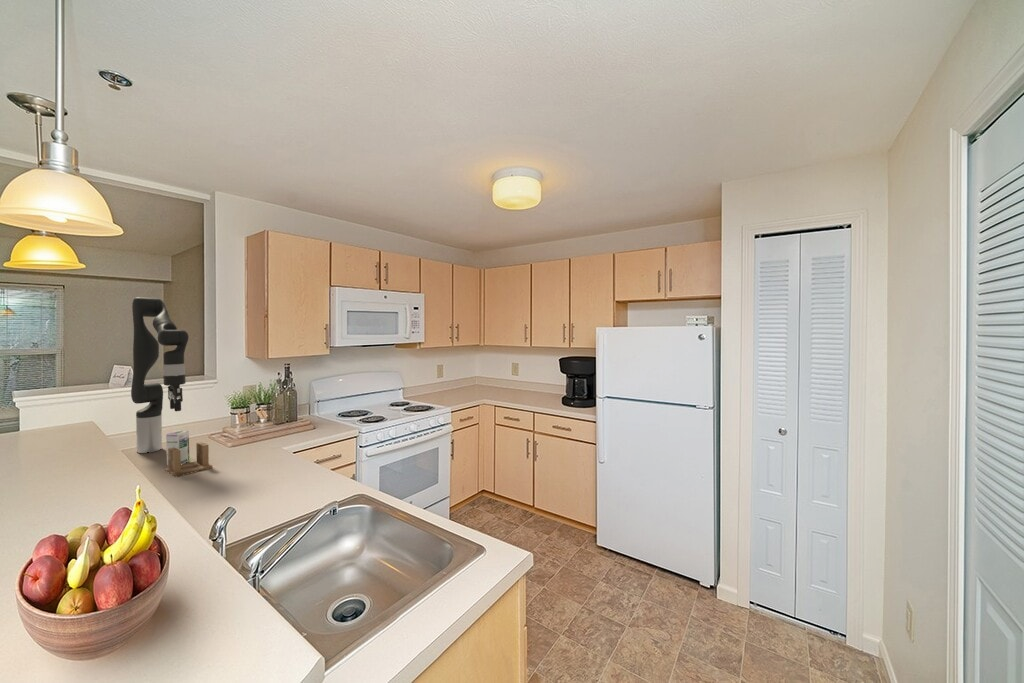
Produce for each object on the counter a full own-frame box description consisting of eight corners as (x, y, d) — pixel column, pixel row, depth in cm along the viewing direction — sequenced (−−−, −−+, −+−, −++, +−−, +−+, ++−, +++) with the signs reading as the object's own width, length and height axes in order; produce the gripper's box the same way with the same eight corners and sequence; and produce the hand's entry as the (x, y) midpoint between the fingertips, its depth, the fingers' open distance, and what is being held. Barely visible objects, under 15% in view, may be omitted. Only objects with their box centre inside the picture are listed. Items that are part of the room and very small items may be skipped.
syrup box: (179, 466, 176) (178, 433, 175) (166, 465, 176) (165, 433, 175) (189, 461, 182) (189, 430, 181) (177, 461, 182) (176, 430, 181)
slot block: (164, 470, 170) (164, 447, 170) (200, 462, 181) (200, 440, 181) (175, 476, 164) (175, 453, 163) (212, 467, 175) (212, 445, 174)
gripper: (160, 373, 180) (161, 409, 180) (167, 376, 171) (168, 413, 171) (181, 372, 186) (182, 406, 186) (189, 374, 177) (190, 410, 177)
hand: (175, 409), depth 179 cm, fingers open, 8 cm apart
